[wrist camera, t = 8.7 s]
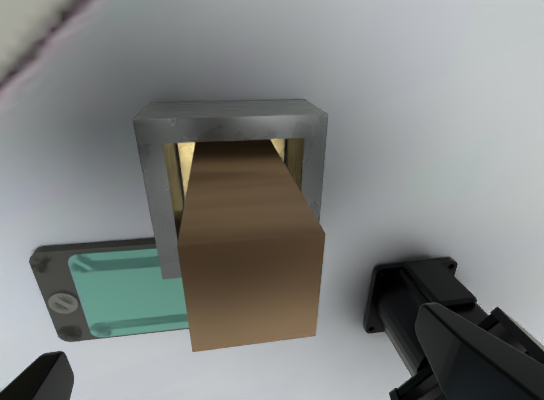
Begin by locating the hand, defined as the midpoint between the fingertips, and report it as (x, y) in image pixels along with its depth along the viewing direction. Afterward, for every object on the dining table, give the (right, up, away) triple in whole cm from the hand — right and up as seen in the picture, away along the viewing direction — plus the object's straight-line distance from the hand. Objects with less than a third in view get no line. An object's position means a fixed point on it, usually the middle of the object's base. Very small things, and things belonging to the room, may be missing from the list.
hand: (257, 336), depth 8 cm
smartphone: (-6, -2, +14) cm, 15 cm away
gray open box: (-2, +5, +10) cm, 12 cm away
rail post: (-2, +5, +10) cm, 12 cm away
